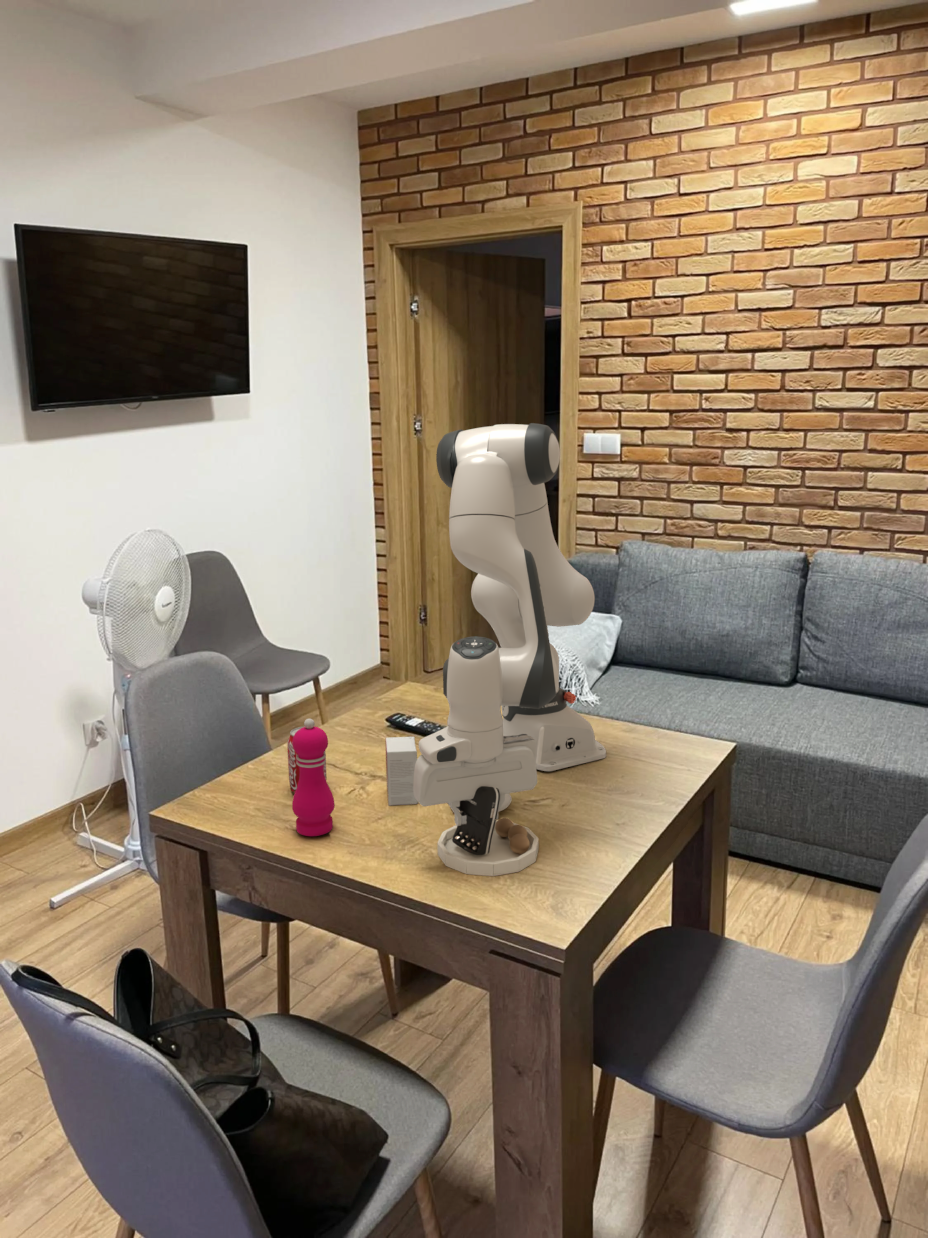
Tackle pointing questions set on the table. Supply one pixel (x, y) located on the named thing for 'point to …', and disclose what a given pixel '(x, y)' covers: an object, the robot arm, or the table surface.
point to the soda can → (292, 765)
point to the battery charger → (478, 821)
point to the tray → (487, 855)
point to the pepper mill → (312, 782)
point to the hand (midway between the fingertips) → (476, 821)
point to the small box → (400, 770)
